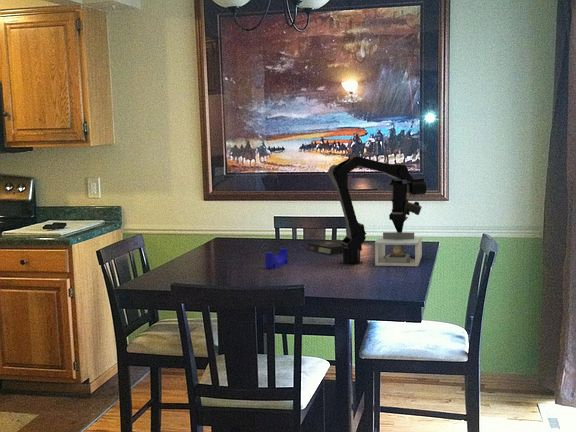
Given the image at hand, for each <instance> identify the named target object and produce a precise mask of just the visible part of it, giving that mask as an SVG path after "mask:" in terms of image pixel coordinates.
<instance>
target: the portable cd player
mask: <svg viewBox="0 0 576 432" xmlns="http://www.w3.org/2000/svg"><path fill="white" fill-rule="evenodd" d="M342 240H343V239H332V240H323V241H316V242H315V241H314V242H309V243H308V244H307V250H308V251H310V252H311V251H312V252H315V251H316V252H315V253H319V252H320V254H323V253H324V255H327V254H328V256H333V255H334V254H336V255H343V248H345V247H342V244H341V241H342ZM362 247H363V245H361V248H360V252H362V249H363V248H362Z"/></svg>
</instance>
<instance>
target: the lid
mask: <svg viewBox="0 0 576 432" xmlns="http://www.w3.org/2000/svg"><path fill="white" fill-rule="evenodd" d="M382 236H383V238H381V237H380V238H379V237H378V238H377V239H376V240H375V242H374V245H376V244H378V245H385V246H387V245H388V246H389V245H391V246H393V245H403V246H406V245H407V246H409V245H410V246H415V245H418V243H419V241H420V239H418V238H415V232H410V231H409V232H406V231H405V232H403V231H402V232H397V231H396V232H385V231H383V233H382Z"/></svg>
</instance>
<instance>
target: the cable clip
mask: <svg viewBox="0 0 576 432" xmlns="http://www.w3.org/2000/svg"><path fill="white" fill-rule="evenodd" d="M288 250H289V249H288V248H279V249H278V255H276V256H275V253H274V252H268V251H267V252H265V253H264V255H265V256H264V257H265V260H264V261H265V269H271V270H274V269H277V268H279V267H282V266H285V265H288V264H289V253H288V252H289V251H288Z"/></svg>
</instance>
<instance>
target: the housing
mask: <svg viewBox="0 0 576 432" xmlns="http://www.w3.org/2000/svg"><path fill="white" fill-rule="evenodd" d="M380 238H383V235H382V236H381V237H380ZM417 239H420V241H419V243H418V245H414V246H415V247H414V256H415V257H414V258H411V255H410V254H409V253H408V254H407V253H403V257H393V253H389V254H386V245H378V244H374V248H375V249H374V252H375V253H374V254H375V255H374V257H375V258H374V259H375V261H374V262H375V263H374V265H375V266H376V267H377V266H380V267H382V266H385V267H386V266H387V267H389V266H390V267H391V266H392V267H419V265H420V262H421V260H422V256H423V254H422V252H423V249H422V248H423V247H422V246H423V241H422V240H423V238H422V236H418V238H417Z"/></svg>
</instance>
